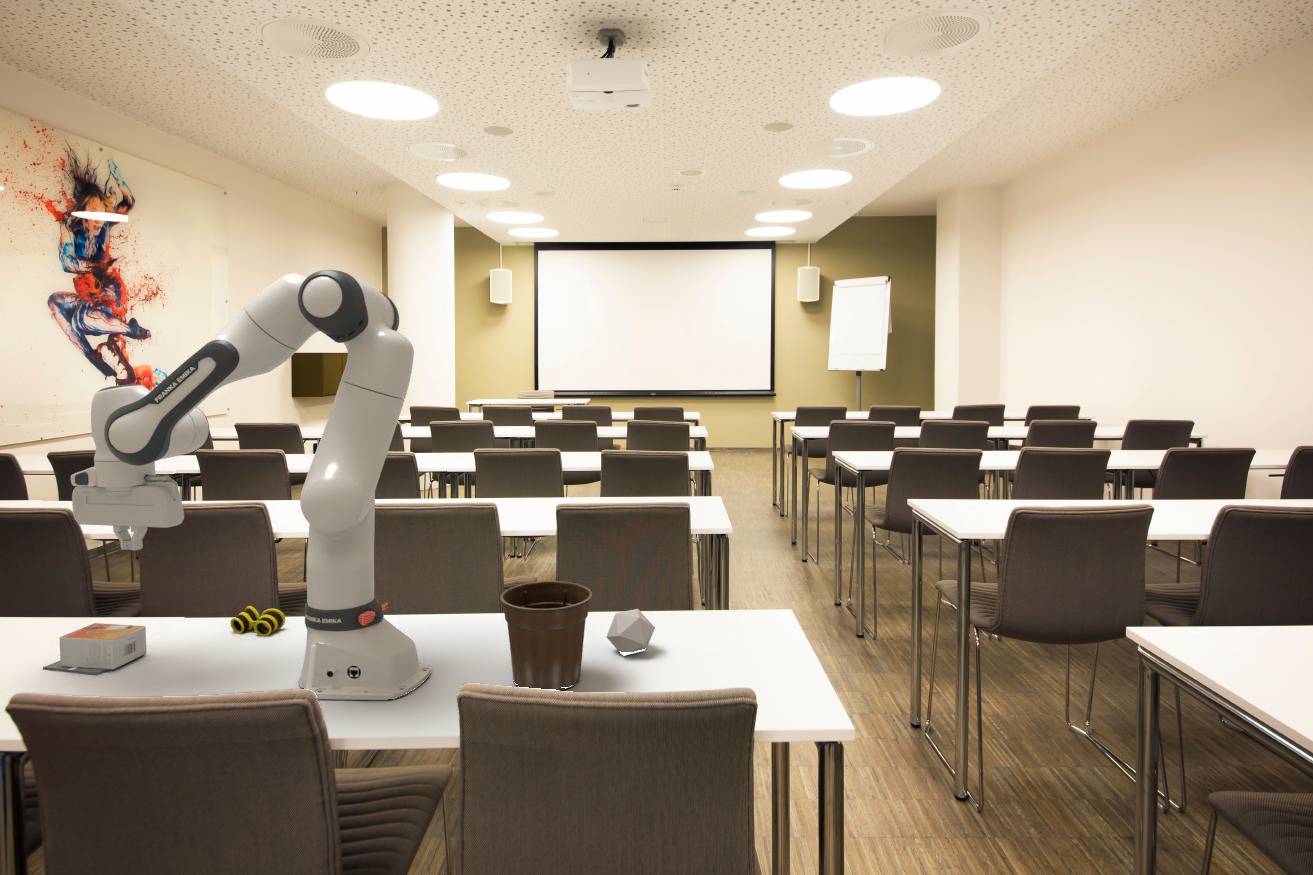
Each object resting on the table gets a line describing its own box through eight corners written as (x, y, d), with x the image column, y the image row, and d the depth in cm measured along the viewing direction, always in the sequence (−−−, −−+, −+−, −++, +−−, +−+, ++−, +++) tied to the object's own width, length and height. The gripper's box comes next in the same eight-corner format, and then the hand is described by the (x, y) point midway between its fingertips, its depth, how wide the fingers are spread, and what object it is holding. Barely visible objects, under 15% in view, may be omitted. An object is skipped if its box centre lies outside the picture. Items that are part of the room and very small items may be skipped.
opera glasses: (230, 636, 153) (226, 615, 152) (249, 623, 158) (244, 602, 157) (270, 641, 151) (266, 619, 150) (287, 628, 156) (284, 607, 155)
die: (652, 664, 143) (666, 615, 148) (615, 647, 140) (630, 597, 144) (630, 665, 150) (644, 618, 155) (594, 649, 147) (609, 601, 151)
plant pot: (524, 708, 122) (525, 614, 120) (485, 674, 135) (485, 589, 133) (607, 685, 131) (609, 597, 130) (563, 656, 144) (564, 576, 143)
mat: (145, 654, 141) (144, 651, 141) (96, 675, 131) (96, 672, 131) (94, 648, 143) (94, 646, 143) (43, 669, 133) (42, 666, 133)
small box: (112, 640, 132) (57, 637, 132) (114, 670, 132) (59, 666, 133) (146, 624, 140) (94, 621, 140) (147, 653, 140) (95, 650, 141)
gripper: (190, 473, 134) (195, 547, 135) (94, 471, 137) (100, 543, 139) (161, 478, 127) (167, 555, 129) (62, 476, 131) (68, 551, 132)
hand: (131, 549), depth 134 cm, fingers closed
